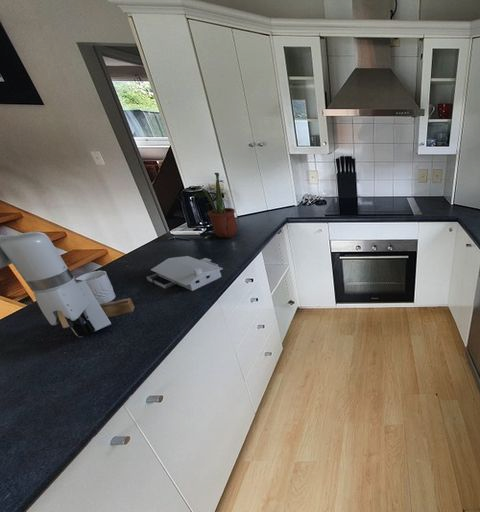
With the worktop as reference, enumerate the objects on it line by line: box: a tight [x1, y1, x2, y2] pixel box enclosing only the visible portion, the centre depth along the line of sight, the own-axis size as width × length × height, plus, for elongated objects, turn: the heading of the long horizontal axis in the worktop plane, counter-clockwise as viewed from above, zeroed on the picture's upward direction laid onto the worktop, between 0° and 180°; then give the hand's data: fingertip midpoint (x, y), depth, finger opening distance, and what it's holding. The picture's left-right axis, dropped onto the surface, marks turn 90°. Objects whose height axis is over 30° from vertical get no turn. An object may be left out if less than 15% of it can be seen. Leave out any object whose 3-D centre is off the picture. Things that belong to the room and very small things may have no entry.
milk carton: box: [70, 278, 112, 338], centre depth 80 cm, size 7×7×19 cm
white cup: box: [75, 270, 117, 304], centre depth 96 cm, size 8×8×10 cm
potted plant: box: [191, 172, 238, 240], centre depth 144 cm, size 17×16×35 cm
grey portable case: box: [145, 255, 224, 292], centre depth 114 cm, size 25×24×7 cm
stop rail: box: [99, 297, 136, 318], centre depth 89 cm, size 16×3×5 cm, turn 118°
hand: (87, 333), depth 78 cm, fingers closed
